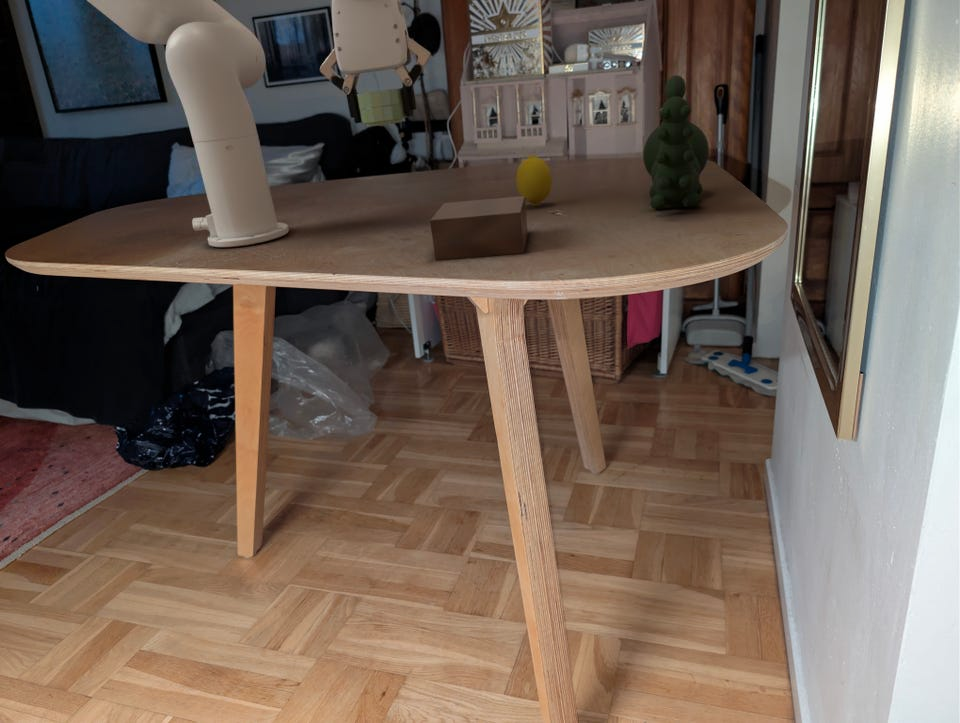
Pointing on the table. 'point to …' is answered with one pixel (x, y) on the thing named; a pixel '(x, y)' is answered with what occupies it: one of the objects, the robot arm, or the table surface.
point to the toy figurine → (675, 152)
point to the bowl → (381, 107)
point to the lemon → (533, 180)
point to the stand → (480, 228)
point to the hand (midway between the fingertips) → (384, 118)
